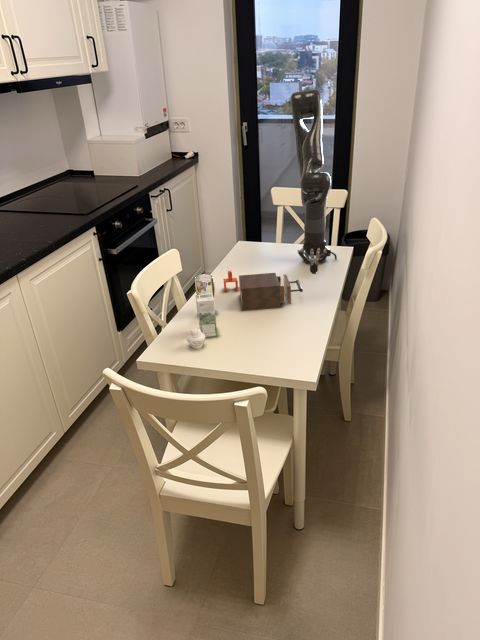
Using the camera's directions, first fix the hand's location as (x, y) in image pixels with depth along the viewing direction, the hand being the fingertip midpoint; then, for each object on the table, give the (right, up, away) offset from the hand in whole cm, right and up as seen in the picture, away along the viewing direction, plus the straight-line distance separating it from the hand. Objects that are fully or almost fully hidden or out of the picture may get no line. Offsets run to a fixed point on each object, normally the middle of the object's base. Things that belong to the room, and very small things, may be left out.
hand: (313, 273), depth 192 cm
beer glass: (-40, -16, -3) cm, 44 cm away
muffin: (-42, -29, -23) cm, 56 cm away
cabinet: (-21, -11, +4) cm, 24 cm away
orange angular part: (-33, -5, +14) cm, 36 cm away
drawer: (-14, -9, +4) cm, 17 cm away
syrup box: (-39, -24, -16) cm, 48 cm away
